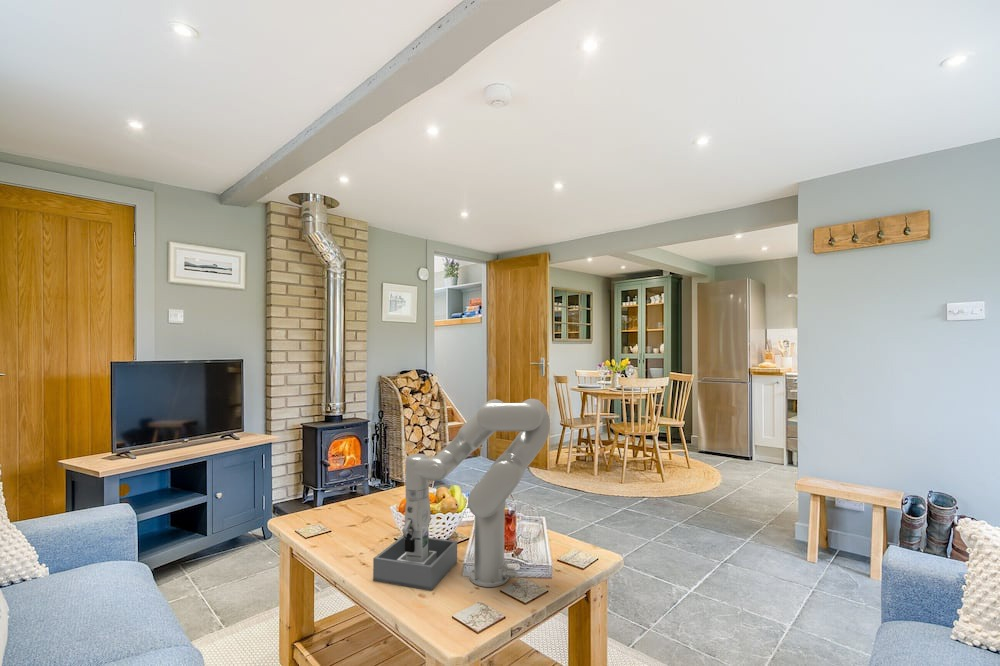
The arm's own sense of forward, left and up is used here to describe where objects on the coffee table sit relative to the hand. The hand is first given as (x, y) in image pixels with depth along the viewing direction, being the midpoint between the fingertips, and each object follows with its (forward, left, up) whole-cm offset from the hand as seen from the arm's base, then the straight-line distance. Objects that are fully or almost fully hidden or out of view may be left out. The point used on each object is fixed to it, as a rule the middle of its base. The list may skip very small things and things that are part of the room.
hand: (417, 545), depth 160 cm
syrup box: (0, 0, -7) cm, 8 cm away
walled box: (0, 0, -8) cm, 8 cm away
